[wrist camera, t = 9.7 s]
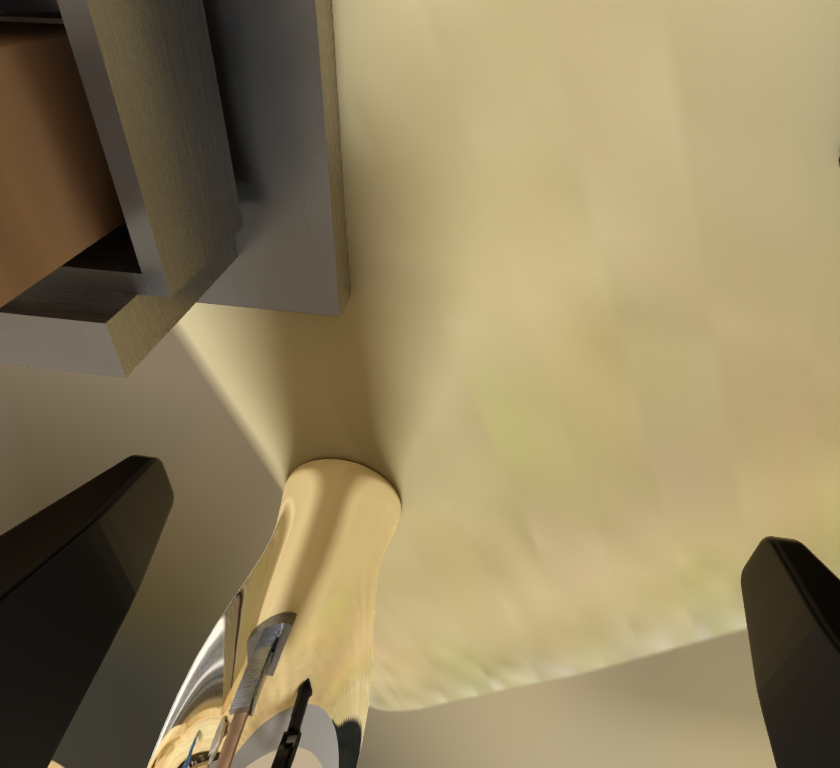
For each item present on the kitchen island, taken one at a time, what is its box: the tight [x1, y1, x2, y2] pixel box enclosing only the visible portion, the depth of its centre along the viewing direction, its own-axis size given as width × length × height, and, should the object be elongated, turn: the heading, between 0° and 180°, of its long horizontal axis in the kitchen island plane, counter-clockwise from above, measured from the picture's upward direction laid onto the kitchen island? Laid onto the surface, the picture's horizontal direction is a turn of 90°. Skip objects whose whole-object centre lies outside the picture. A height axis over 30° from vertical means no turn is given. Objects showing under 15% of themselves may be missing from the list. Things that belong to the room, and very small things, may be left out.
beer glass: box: [147, 459, 401, 768], centre depth 23 cm, size 7×7×15 cm
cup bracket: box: [0, 0, 350, 378], centre depth 15 cm, size 12×12×8 cm
